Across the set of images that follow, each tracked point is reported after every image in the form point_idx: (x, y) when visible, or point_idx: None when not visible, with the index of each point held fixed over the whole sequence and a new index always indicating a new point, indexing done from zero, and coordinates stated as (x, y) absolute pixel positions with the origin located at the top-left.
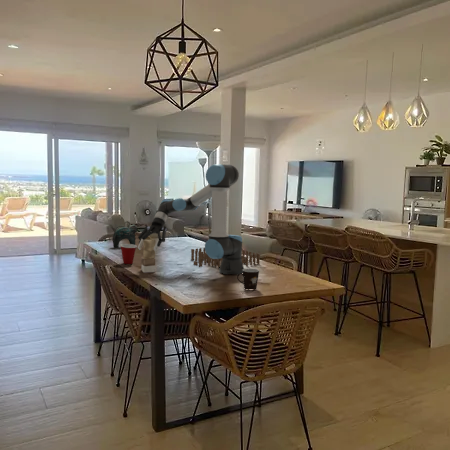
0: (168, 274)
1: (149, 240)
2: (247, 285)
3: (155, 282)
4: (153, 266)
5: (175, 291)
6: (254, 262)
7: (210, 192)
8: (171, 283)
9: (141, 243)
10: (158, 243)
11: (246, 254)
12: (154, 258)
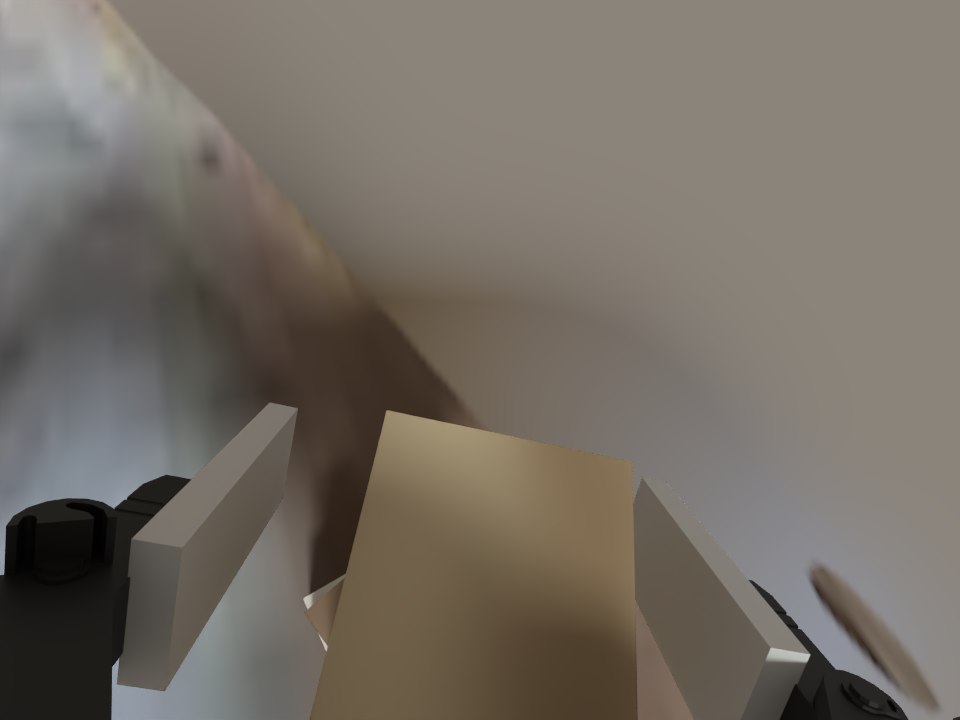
0: None
1: (465, 493)
2: None
3: (225, 202)
4: (330, 583)
5: (43, 32)
6: None
7: None
8: (72, 188)
9: (685, 586)
10: (155, 510)
11: None
12: (326, 641)
